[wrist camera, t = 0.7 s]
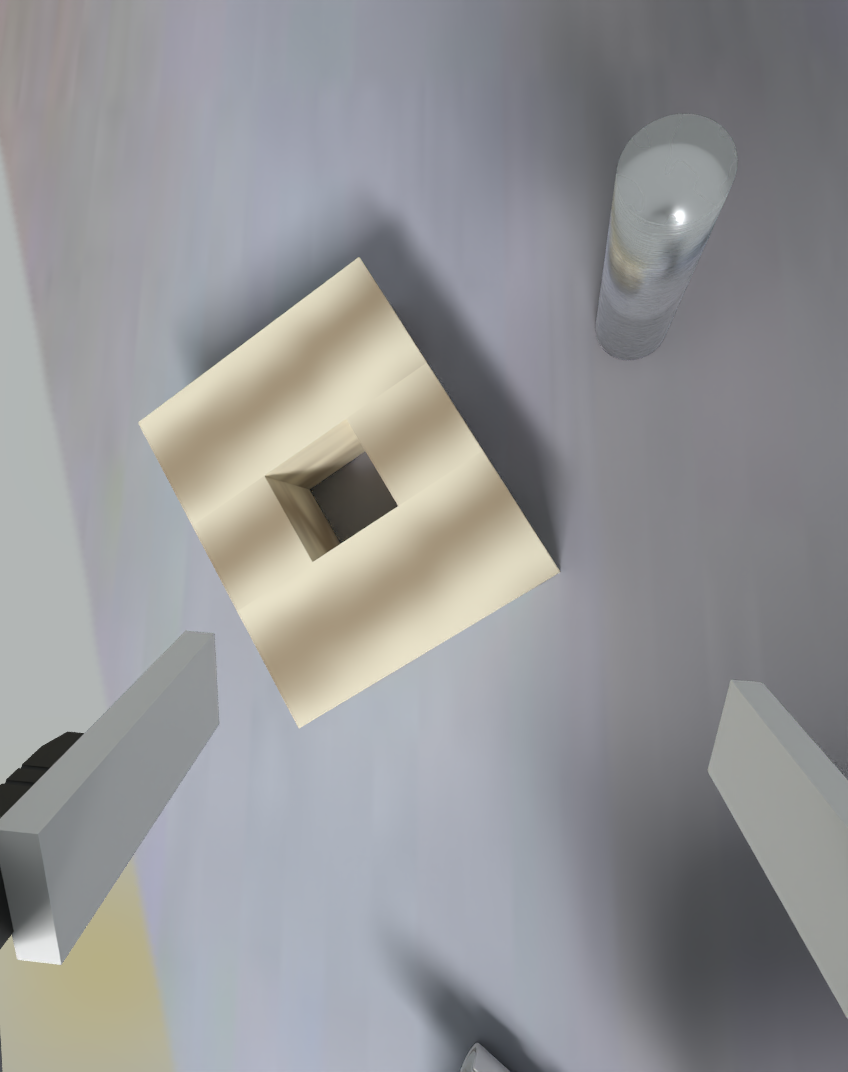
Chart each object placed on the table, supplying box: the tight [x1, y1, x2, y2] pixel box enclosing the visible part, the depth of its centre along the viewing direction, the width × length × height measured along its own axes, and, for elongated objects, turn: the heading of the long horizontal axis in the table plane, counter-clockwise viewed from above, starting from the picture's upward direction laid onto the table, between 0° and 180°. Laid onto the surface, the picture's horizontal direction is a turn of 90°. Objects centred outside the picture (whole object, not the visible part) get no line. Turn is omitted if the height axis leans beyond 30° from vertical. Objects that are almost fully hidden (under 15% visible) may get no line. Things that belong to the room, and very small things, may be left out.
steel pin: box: [595, 114, 738, 360], centre depth 28 cm, size 4×4×14 cm
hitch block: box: [138, 257, 560, 728], centre depth 35 cm, size 20×16×6 cm
